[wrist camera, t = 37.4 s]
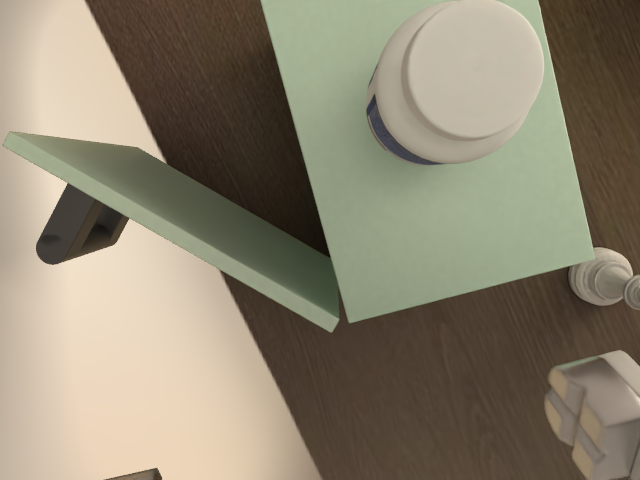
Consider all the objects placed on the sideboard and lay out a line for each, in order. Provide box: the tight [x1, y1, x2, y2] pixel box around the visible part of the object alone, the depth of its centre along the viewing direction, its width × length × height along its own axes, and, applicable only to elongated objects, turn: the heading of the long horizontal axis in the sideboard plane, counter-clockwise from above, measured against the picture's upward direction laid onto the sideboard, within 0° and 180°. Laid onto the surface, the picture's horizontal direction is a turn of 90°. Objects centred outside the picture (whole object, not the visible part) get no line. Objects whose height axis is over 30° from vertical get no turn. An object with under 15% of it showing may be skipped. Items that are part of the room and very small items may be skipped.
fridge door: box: [3, 131, 339, 333], centre depth 36 cm, size 7×18×18 cm, turn 60°
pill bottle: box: [366, 0, 544, 166], centre depth 21 cm, size 5×5×10 cm
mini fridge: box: [260, 0, 595, 323], centre depth 35 cm, size 12×18×18 cm, turn 15°
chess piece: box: [568, 247, 640, 310], centre depth 40 cm, size 4×4×10 cm
